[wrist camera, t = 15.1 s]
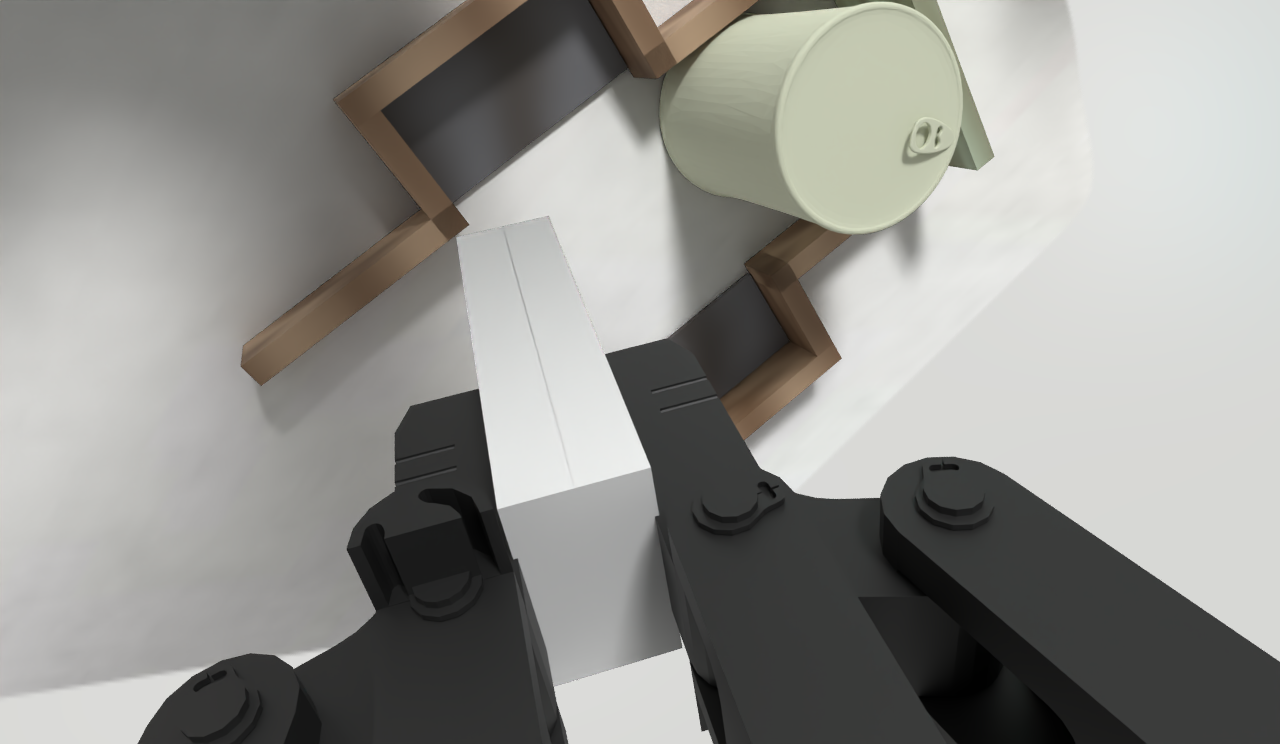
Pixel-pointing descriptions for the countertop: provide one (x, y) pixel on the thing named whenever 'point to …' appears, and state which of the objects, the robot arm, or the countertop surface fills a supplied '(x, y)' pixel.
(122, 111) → the countertop surface
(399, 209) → the countertop surface
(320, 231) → the countertop surface
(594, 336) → the robot arm
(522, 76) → the channel
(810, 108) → the can
